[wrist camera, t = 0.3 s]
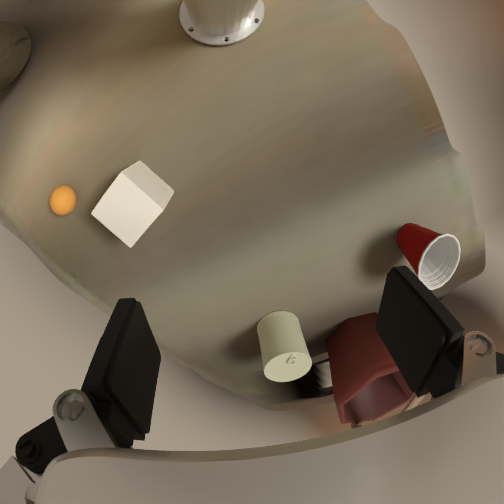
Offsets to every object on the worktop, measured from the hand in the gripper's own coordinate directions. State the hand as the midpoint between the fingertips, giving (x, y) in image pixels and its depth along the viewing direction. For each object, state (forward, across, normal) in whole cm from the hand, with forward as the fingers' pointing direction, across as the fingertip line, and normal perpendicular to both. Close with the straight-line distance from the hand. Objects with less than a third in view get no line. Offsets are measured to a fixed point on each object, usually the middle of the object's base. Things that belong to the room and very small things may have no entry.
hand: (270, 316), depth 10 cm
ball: (+33, +30, +1) cm, 44 cm away
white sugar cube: (+35, +15, +3) cm, 38 cm away
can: (+36, -6, +35) cm, 50 cm away
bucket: (+36, -26, +43) cm, 62 cm away
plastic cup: (+36, -34, +16) cm, 51 cm away
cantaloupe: (+35, +38, -28) cm, 59 cm away
